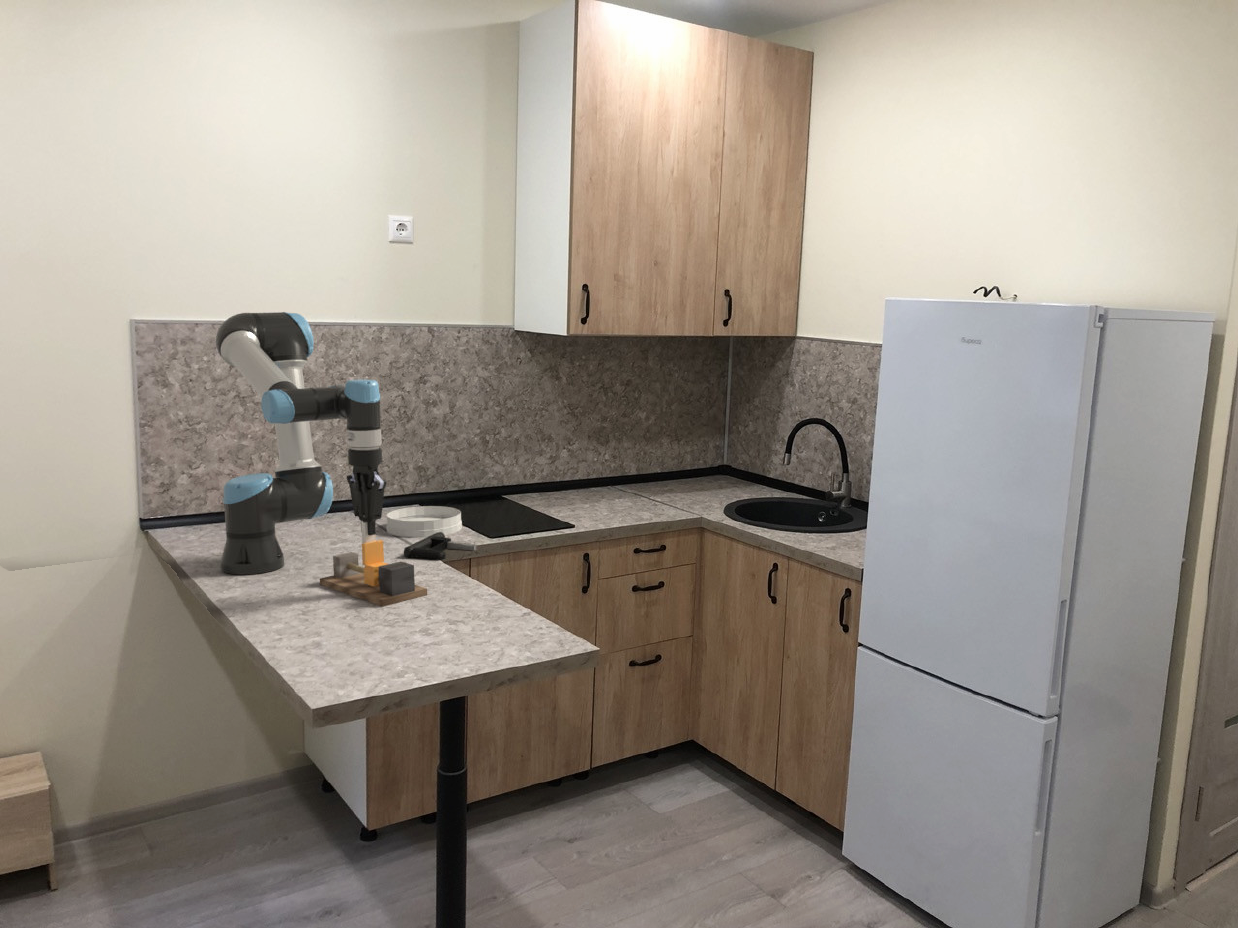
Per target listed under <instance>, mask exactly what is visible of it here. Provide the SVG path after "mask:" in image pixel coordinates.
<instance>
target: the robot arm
mask: <svg viewBox="0 0 1238 928" xmlns="http://www.w3.org/2000/svg"><path fill="white" fill-rule="evenodd" d="M215 346H216V347H215V348H216V351H217V352H218V354H219V356H220V357H221V359H222V360H223V361H225V363H226V364H227V365H230V367H231V366H232V367H235V368H236V369H237V371H238V372H239V373H240V374H241V376H243V377H244V379H245V380H246V381H247V382H248V383H249V385H250V386H251V387H252V388H253V389H254V391H255V392H256V393H257V394H258V395H259V396H260V397H261V399H260V400H261V401H260V402H261V403H260V409H261V412H262V414H263V418H264V419H265V421H266V422H267V423H269V424H274V427H275V428H274V429H275V436H276V443H277V452H278V458H279V459H278V460H279V464H278V466H277V467H276V469H275V470H274V475H275V477H273V476H272V475H271V473H267V472H259V473H251V474H250V473H249V474H244V475H241V476H237V477H234V478H232V479H230V480H228V481H227V482H226V483H225V484H224V486H223V498H222V502H223V507H224V509H223V510H224V520H225V521H224V525H225V532H226V533H225V537H226V540H225V544H224V547H223V552H222V556H221V558H220V570H222V571H223V572H222V571H221V572H222V573H224V572H225V574H228V573H229V574H228V575H240V576H241V575H256V574H263V573H269V572H272V571H276V570H279V569H281V568H283V567H284V566H285V556H284V553H283V551H282V548H281V546H280V544H279V541H278V539H277V535H276V524H280V523H281V524H282V523H288V522H295V521H302V520H312V519H315V518H319V517H323V516H325V515H326V514H327V513H328V512H329V510H331V509H330V508H331V506H332V503H333V499H334V484H333V481H332V479H331V476H330V475H329V473H327V472H325V471H323V470H322V464H321V463H319V462H317V461H316V460H315V456H314V448H313V440H312V433H311V425H310V422H311V421H312V422H314V421H327V420H328V421H330V420H340V419H341V420H342V419H343V420H346V429H347V435H346V438H347V446H348V447H349V449H348V450H347V456H348V457H347V458H348V460H347V461H348V465H349V466H350V467H351V466H352V473H351V474H348V475H346V481H347V483H348V487H349V491H350V496H351V498H350V499H351V502H352V509H353V514H354V517H356V518H358V520H359V521H360V530H361V544H362V543H367V542H372V541H377V538H376V537H377V536H376V535H377V534H376V533H377V531H376V529H377V528H376V526H377V525H376V524H377V523H376V521H377V520H381V519H382V515H383V508H384V507H383V506H384V495H385V489H386V485H387V480H386V479H382V478H381V477H380V471H379V470H380V469H379V465H381V464H382V463H383V449H382V448H381V447H380V446H381V445H382V443H383V442H382V440H383V438H382V427H381V394H380V388H379V387H380V386H379V383H378V381H377V380H375V379H349V380H347V381H346V383H345V384H344V385H342V384H339V385H330V386H325V387H323V386H322V387H309V388H307V387H305V381H304V373H303V369H304V367H305V366H306V365H307V364H308V357H310V356H311V355H312V353H313V352H314V346H315V343H314V335H313V331H312V328H311V326H310V324H309V322H308V321H307V319H306V318H305V317H304V316H303V315H302V314H299V313H295V312H285V311H283V312H282V311H281V312H279V311H278V312H242V313H237V314H235V315H231V316H230V317H228V318H227V319H225V321H223V322H222V324H221V325H220V326H219V328H218V330H217V332H216V336H215Z"/></svg>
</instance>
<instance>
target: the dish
mask: <svg viewBox="0 0 1238 928" xmlns="http://www.w3.org/2000/svg"><path fill="white" fill-rule="evenodd" d="M385 527H386V532H387V534H389V535H392V536H395V537H404V538H427V537H429V536H431V535H433V534H435V533H437V532H442V533H444V535H445V536H447V535H452V534H454V533H458V532H459V531H461V530H462V527H463V522H462V511H461V510H460V509H457V508H455V507H449V506H444V505H443V506H442V505H441V506H440V505H436V506H435V505H423V506H422V505H421V506H412V507H411V506H410V507H404V508H399V509H395V510H392V511H390V512H388V513H387V514H386V526H385Z"/></svg>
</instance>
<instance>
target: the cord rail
mask: <svg viewBox="0 0 1238 928" xmlns="http://www.w3.org/2000/svg"><path fill="white" fill-rule="evenodd" d="M332 562H333V564H332V565H333V566H332V567H333V575H329V576H325V577H324V576H323V577H321V578H319V585H320V586H322V587H326V588H329V589H332V590H335V591H338V592H341V593H343V594H345V595H349V596H351V597H354V598H356V599H360V600H363V601H366V602H370V603H372V604H374V605H378V606H380V607H386V606H390V605H393V604H397V603H401V602H405V601H409V600H413V599H416V598H421V597H423V596H424V595H425V596H427V595H428V588H426V587H424V586H420V585H417V584H416V583H415V565H414V564H411V563H407V562H404V561H397V562H392V563H387V565H383V566H379V572H378V577H379V586H375V587H374V586H371V585H368V584H365V582H364V567H365V566H361V565H359V553H356V552H353V551H349V552H344V553H340V554H335V555H332ZM425 596H424V597H425Z"/></svg>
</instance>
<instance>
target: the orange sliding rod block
mask: <svg viewBox="0 0 1238 928" xmlns="http://www.w3.org/2000/svg"><path fill="white" fill-rule="evenodd" d="M384 550H385V549H384V540H382V539H376V541H372V542H367V543H362V542H361V560H362V562H361V563H362V565H363V567H364V582H365V584H368V585H371V586H374V587H375V586H379V577H378V572H379V566H383V565H387V564H388V563H387V562H385V554H384Z"/></svg>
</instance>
